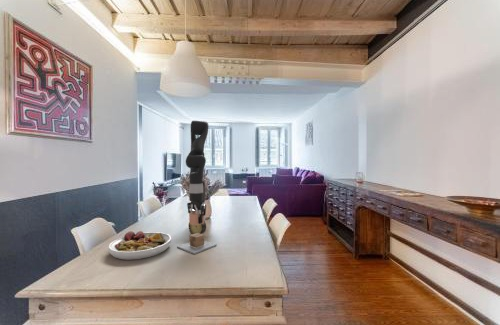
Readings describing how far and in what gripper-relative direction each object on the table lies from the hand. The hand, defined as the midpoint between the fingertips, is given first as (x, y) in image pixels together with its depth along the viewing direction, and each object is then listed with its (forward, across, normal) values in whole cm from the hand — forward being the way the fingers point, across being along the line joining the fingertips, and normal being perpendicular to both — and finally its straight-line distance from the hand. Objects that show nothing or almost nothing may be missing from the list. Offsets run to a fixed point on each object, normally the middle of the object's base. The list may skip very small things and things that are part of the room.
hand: (196, 222), depth 131 cm
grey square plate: (+13, 0, 0) cm, 13 cm away
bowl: (+14, +20, +21) cm, 32 cm away
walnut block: (+12, 0, 0) cm, 12 cm away
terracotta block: (+1, 0, 0) cm, 1 cm away
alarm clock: (+14, +13, -11) cm, 22 cm away
